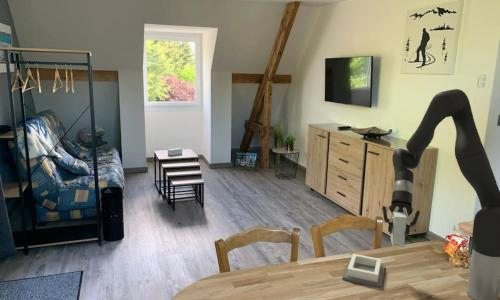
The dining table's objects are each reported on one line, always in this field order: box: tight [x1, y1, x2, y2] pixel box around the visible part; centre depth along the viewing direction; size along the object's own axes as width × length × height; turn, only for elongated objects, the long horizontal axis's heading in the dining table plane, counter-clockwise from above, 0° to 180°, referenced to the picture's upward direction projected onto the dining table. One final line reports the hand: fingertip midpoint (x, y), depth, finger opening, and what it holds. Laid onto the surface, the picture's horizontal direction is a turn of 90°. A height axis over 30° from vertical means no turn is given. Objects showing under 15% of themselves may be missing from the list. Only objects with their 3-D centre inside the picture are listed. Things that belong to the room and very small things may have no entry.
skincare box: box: [390, 211, 407, 248], centre depth 145 cm, size 6×4×12 cm
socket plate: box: [341, 253, 386, 288], centre depth 149 cm, size 14×16×4 cm
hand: (398, 234), depth 143 cm, fingers closed on skincare box, 4 cm apart
